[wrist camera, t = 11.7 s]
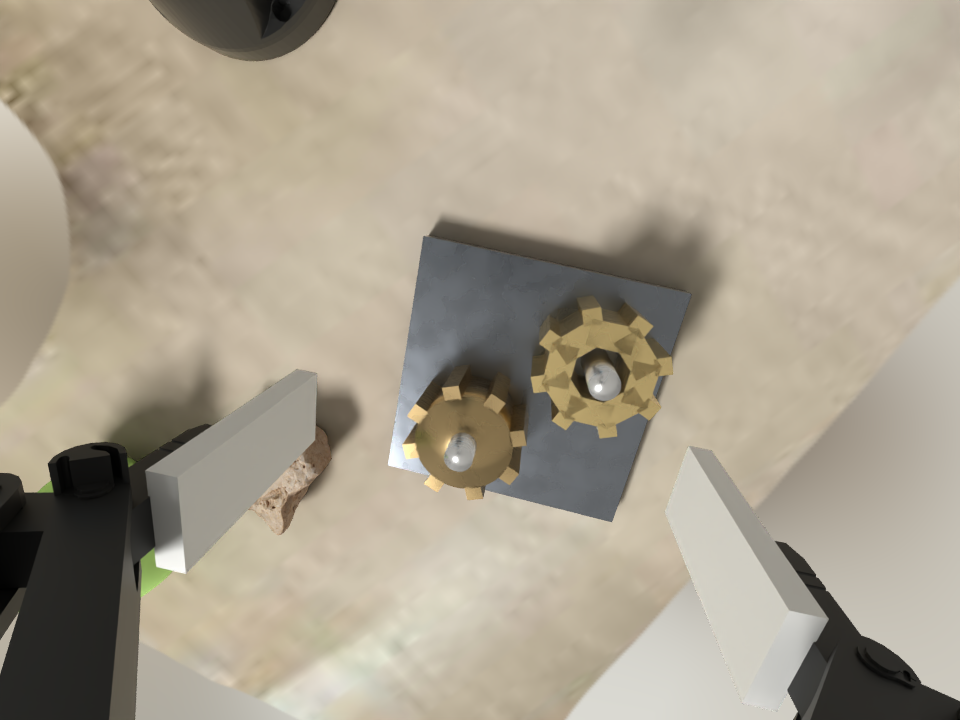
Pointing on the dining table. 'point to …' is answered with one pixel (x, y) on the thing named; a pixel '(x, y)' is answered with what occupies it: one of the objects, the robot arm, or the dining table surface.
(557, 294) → the plate
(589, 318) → the planet gear
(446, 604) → the dining table surface
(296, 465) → the stone
